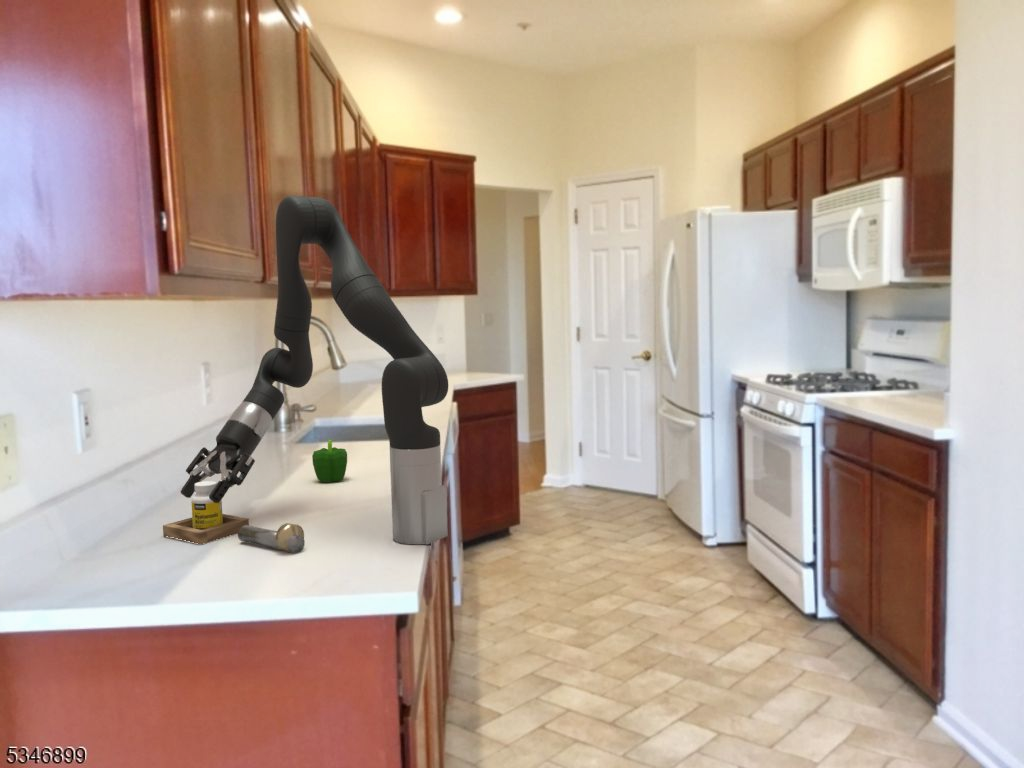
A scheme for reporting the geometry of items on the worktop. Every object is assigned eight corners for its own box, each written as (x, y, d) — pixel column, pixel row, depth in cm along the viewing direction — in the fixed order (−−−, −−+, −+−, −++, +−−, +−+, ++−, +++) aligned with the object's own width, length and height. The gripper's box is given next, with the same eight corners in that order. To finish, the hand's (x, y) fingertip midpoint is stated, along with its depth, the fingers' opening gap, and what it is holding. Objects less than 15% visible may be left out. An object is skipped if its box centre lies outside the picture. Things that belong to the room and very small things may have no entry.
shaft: (308, 548, 139) (307, 522, 138) (288, 556, 135) (286, 529, 134) (255, 537, 146) (254, 512, 146) (234, 544, 142) (232, 518, 142)
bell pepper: (340, 485, 190) (338, 444, 189) (308, 484, 191) (306, 443, 190) (353, 477, 198) (352, 438, 197) (323, 476, 199) (321, 438, 198)
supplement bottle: (191, 538, 147) (188, 487, 146) (195, 530, 152) (192, 481, 151) (222, 535, 148) (219, 485, 147) (224, 527, 154) (221, 478, 153)
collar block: (249, 529, 152) (248, 518, 152) (200, 544, 143) (199, 533, 142) (212, 522, 158) (212, 511, 158) (163, 536, 148) (162, 525, 148)
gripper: (209, 416, 158) (162, 483, 150) (257, 420, 151) (210, 491, 142) (233, 438, 163) (188, 504, 155) (280, 443, 156) (235, 513, 147)
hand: (198, 498), depth 148 cm, fingers open, 8 cm apart
